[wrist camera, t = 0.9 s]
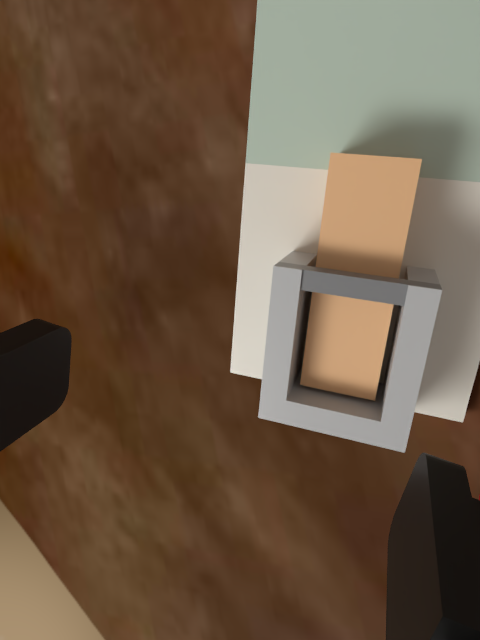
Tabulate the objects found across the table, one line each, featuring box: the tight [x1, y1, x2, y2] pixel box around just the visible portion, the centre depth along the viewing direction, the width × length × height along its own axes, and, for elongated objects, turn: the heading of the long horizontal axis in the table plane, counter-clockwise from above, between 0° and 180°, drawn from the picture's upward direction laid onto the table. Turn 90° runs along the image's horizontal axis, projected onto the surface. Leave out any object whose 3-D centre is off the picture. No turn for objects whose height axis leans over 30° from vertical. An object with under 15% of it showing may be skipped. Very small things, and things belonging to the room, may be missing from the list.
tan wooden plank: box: [300, 153, 422, 401], centre depth 24 cm, size 4×12×3 cm, turn 176°
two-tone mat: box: [230, 0, 480, 453], centre depth 22 cm, size 14×23×6 cm, turn 176°
